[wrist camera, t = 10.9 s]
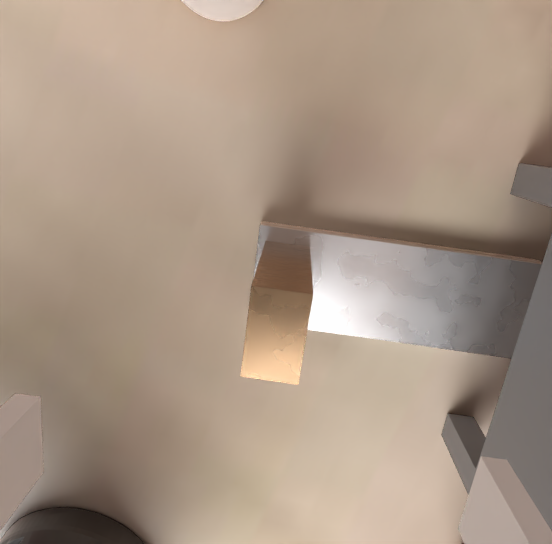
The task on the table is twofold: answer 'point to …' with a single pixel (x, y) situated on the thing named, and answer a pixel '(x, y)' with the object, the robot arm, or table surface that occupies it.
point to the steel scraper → (378, 296)
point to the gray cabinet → (519, 384)
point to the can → (222, 8)
